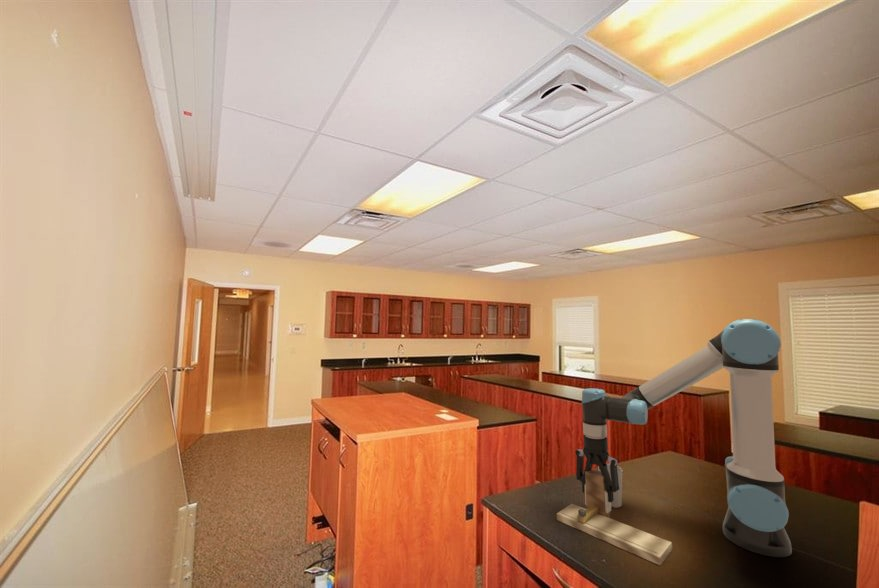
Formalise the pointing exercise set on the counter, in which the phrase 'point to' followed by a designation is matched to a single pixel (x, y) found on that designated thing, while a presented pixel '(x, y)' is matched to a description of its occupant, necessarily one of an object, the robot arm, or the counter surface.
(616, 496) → the cup
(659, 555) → the board
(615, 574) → the counter surface
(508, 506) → the counter surface
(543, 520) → the counter surface
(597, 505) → the gauge
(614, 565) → the counter surface
